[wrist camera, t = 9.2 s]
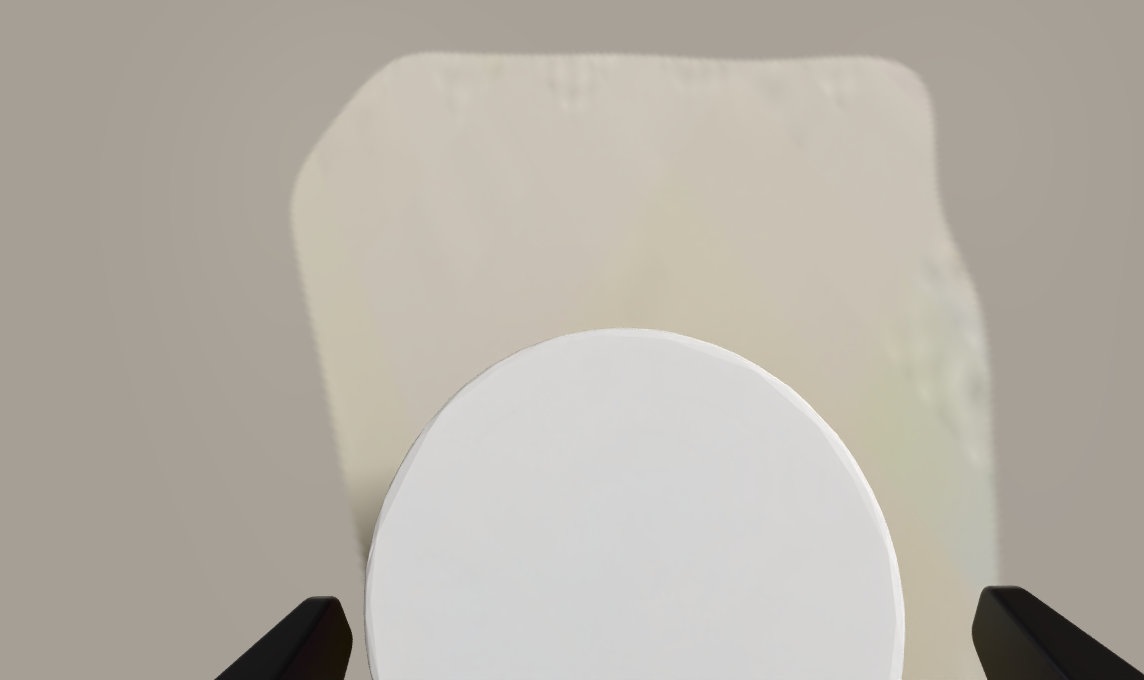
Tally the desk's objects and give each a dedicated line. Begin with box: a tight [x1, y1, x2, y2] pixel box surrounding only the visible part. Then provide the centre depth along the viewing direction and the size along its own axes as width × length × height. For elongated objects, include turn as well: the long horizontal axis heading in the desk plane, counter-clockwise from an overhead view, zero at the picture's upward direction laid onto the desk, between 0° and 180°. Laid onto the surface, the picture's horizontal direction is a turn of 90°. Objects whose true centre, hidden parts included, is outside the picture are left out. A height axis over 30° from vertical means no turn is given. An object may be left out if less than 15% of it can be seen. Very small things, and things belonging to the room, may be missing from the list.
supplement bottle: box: [364, 328, 905, 680], centre depth 11 cm, size 7×7×13 cm
